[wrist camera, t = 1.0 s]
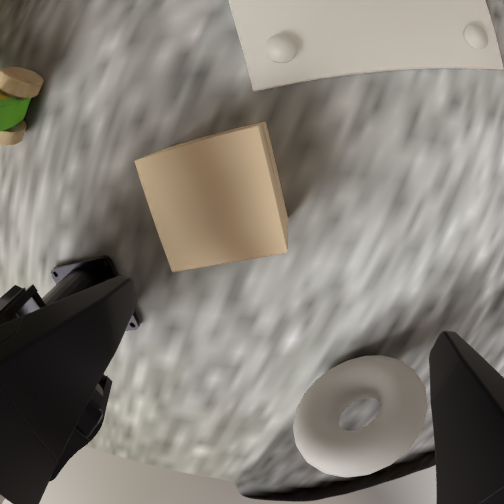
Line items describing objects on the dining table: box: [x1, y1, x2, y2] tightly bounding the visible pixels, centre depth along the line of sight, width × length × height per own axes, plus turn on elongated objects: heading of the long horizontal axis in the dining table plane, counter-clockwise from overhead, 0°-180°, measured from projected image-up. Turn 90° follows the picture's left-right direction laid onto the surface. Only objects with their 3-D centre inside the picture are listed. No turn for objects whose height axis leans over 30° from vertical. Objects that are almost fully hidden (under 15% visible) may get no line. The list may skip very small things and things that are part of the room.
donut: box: [293, 355, 428, 477], centre depth 20 cm, size 10×3×10 cm, turn 120°
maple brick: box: [134, 121, 288, 272], centre depth 17 cm, size 6×6×5 cm
